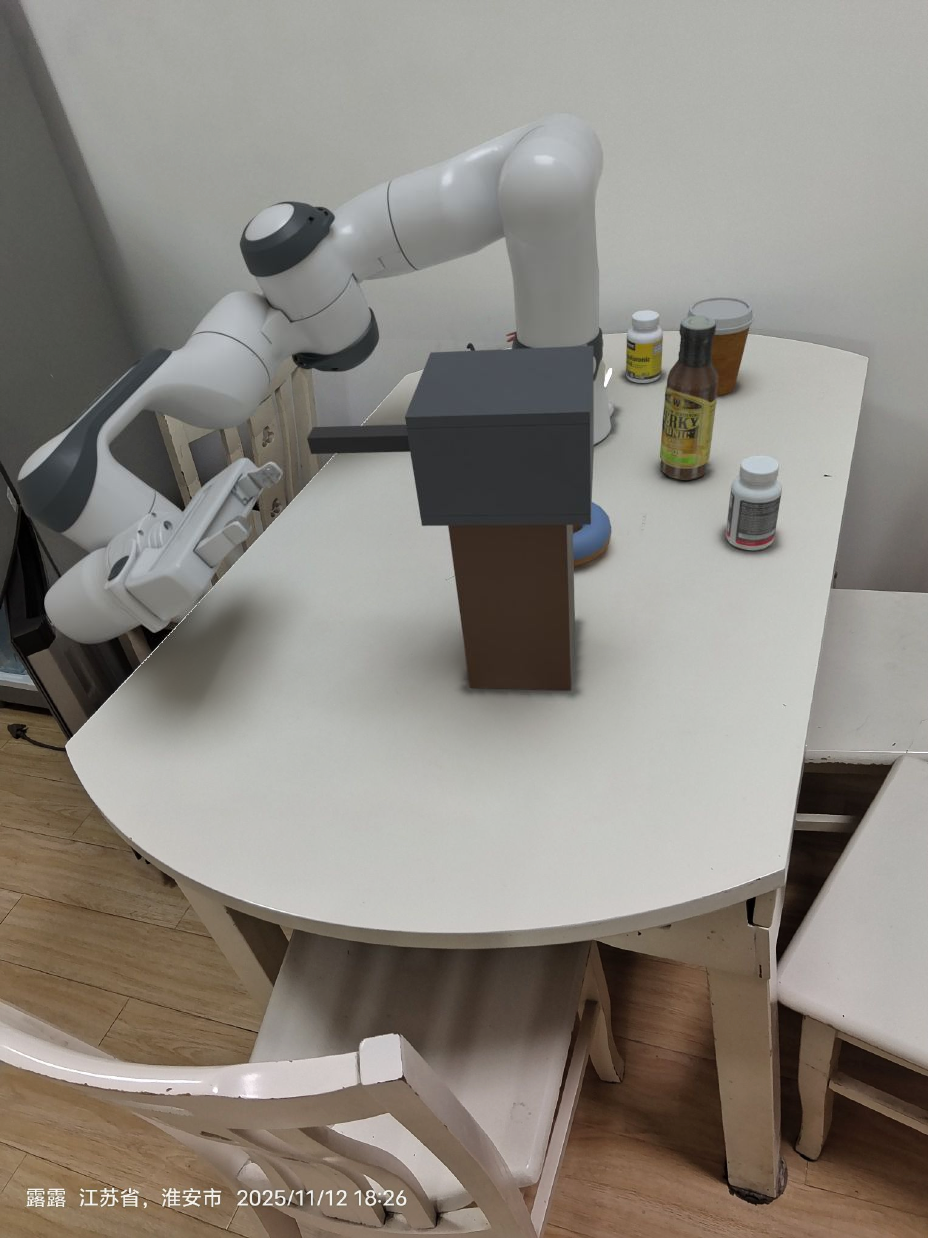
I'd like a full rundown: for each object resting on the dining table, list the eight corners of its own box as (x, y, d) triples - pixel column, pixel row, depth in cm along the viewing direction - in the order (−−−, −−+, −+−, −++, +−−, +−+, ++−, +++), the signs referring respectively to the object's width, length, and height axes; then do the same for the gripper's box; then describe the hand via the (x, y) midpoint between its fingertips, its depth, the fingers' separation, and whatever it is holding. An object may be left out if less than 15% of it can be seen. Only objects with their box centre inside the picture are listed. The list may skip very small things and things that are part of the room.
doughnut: (553, 583, 96) (551, 550, 93) (512, 540, 103) (509, 508, 100) (628, 554, 99) (629, 521, 96) (582, 515, 106) (582, 483, 103)
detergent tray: (305, 506, 73) (285, 431, 69) (334, 448, 81) (318, 377, 76) (573, 503, 69) (571, 424, 65) (577, 442, 77) (576, 367, 72)
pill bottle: (784, 539, 98) (796, 464, 92) (751, 557, 96) (761, 482, 90) (747, 520, 102) (757, 446, 96) (715, 537, 100) (723, 463, 94)
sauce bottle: (649, 472, 112) (656, 323, 99) (678, 453, 115) (688, 306, 102) (690, 488, 108) (703, 335, 95) (719, 468, 111) (735, 317, 98)
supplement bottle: (618, 379, 134) (619, 317, 128) (638, 366, 137) (640, 305, 131) (648, 387, 131) (650, 324, 125) (667, 373, 134) (671, 311, 128)
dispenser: (448, 694, 84) (404, 416, 65) (464, 616, 93) (430, 352, 74) (591, 698, 82) (590, 411, 63) (594, 617, 91) (593, 345, 72)
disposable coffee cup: (668, 383, 131) (672, 305, 124) (720, 367, 134) (727, 290, 126) (705, 406, 124) (712, 326, 117) (759, 390, 127) (770, 309, 119)
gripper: (223, 522, 95) (313, 464, 88) (148, 645, 79) (250, 587, 73) (181, 479, 92) (271, 417, 85) (95, 599, 76) (197, 534, 70)
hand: (261, 496), depth 79 cm, fingers open, 8 cm apart
